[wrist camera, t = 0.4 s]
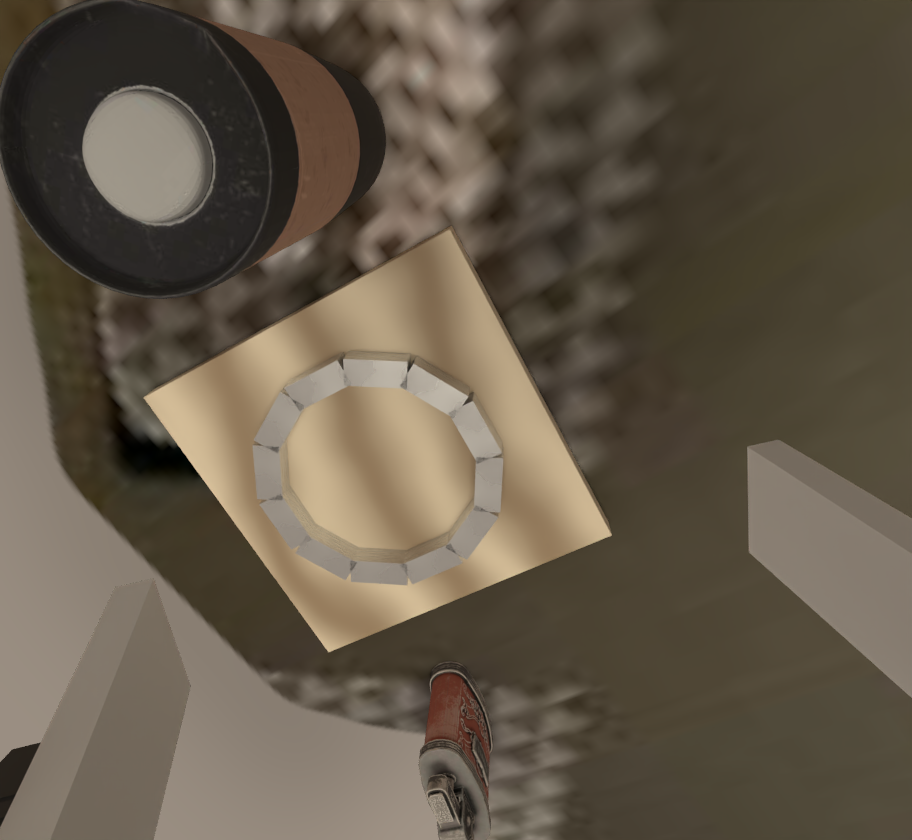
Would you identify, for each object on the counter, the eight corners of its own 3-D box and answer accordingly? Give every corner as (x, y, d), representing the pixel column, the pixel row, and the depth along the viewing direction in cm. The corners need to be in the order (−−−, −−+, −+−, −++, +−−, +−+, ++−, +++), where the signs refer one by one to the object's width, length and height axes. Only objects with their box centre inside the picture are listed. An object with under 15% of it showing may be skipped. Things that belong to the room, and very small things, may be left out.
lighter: (501, 745, 52) (500, 879, 43) (456, 753, 53) (445, 888, 44) (468, 657, 50) (459, 780, 40) (421, 666, 50) (401, 791, 41)
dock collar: (427, 307, 39) (424, 314, 38) (543, 515, 43) (544, 528, 42) (215, 418, 42) (205, 428, 41) (343, 601, 47) (338, 616, 45)
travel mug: (290, 240, 40) (100, 347, 21) (215, 99, 37) (-73, 82, 19) (417, 177, 38) (331, 234, 20) (347, 26, 36) (174, -72, 17)
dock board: (451, 225, 39) (449, 229, 37) (608, 522, 45) (611, 535, 44) (155, 388, 43) (143, 397, 42) (333, 637, 50) (328, 652, 48)
